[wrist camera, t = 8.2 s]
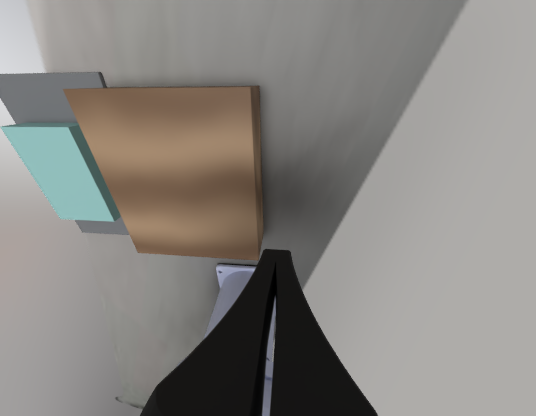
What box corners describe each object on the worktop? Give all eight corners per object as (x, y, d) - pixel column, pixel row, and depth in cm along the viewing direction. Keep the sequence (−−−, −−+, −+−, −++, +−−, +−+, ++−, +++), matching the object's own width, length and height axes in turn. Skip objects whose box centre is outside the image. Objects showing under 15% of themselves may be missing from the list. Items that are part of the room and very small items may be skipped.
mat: (160, 234, 24) (158, 236, 24) (84, 230, 25) (82, 232, 25) (100, 72, 16) (97, 72, 16) (-10, 74, 17) (-15, 74, 16)
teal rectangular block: (60, 219, 21) (77, 208, 23) (114, 221, 21) (127, 211, 22) (0, 126, 17) (27, 122, 18) (68, 127, 16) (89, 122, 18)
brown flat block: (263, 233, 23) (258, 260, 19) (159, 228, 24) (138, 252, 20) (259, 85, 15) (250, 87, 12) (109, 87, 16) (62, 88, 13)
